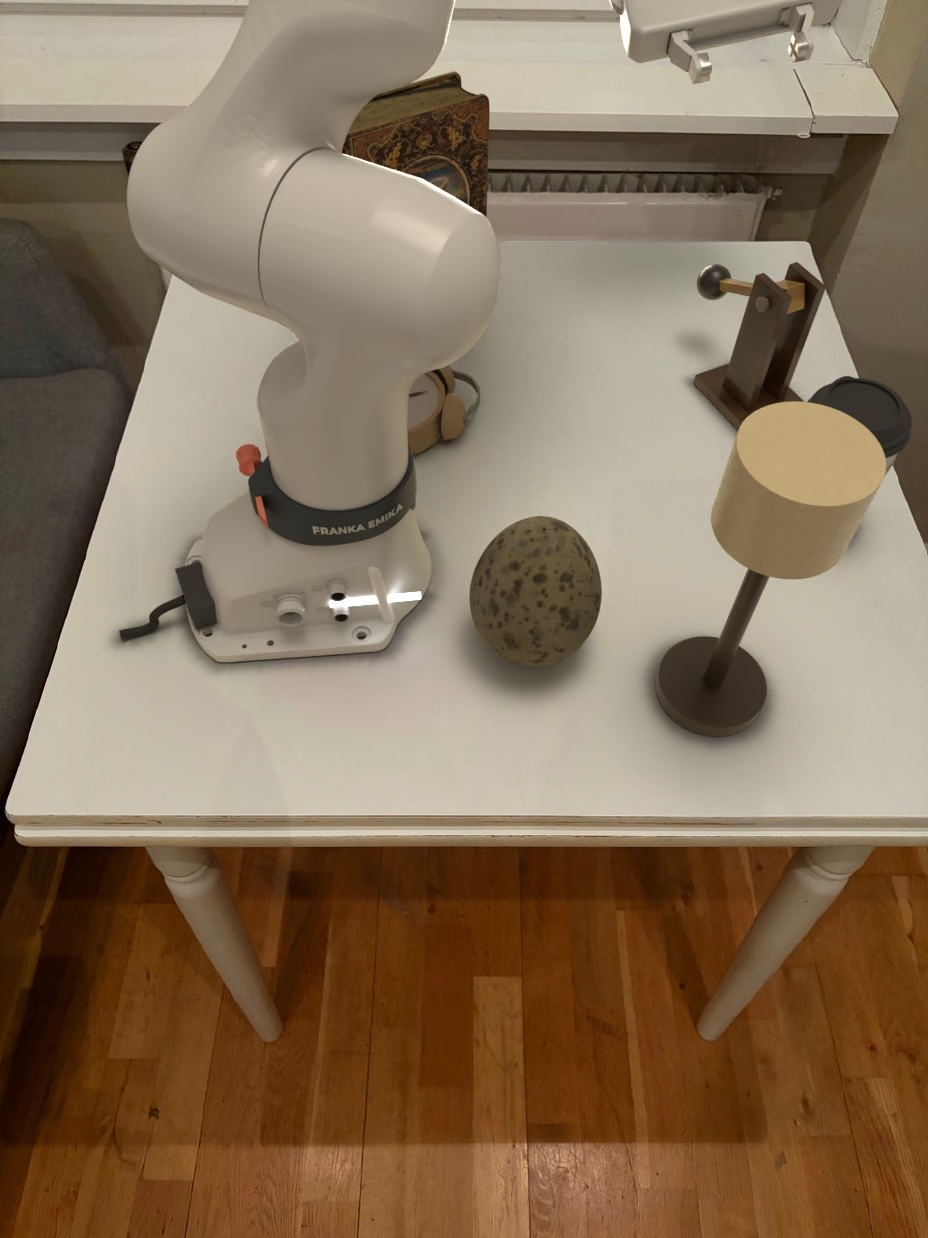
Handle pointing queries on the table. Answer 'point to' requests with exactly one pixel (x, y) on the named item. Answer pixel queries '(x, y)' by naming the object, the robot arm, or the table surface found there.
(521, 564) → the decorative egg
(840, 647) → the table surface
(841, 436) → the lamp
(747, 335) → the switch block
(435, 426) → the alarm clock
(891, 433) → the coffee cup
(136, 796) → the table surface
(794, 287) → the lever
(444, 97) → the book
